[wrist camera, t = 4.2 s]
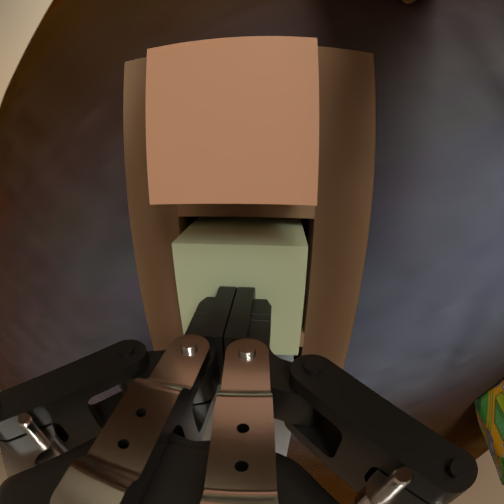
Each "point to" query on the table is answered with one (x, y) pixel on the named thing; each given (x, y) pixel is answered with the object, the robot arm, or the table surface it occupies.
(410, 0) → the wooden block
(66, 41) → the table surface
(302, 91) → the terracotta key
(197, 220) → the sage key
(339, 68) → the wooden tray
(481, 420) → the chalk box
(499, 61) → the table surface
